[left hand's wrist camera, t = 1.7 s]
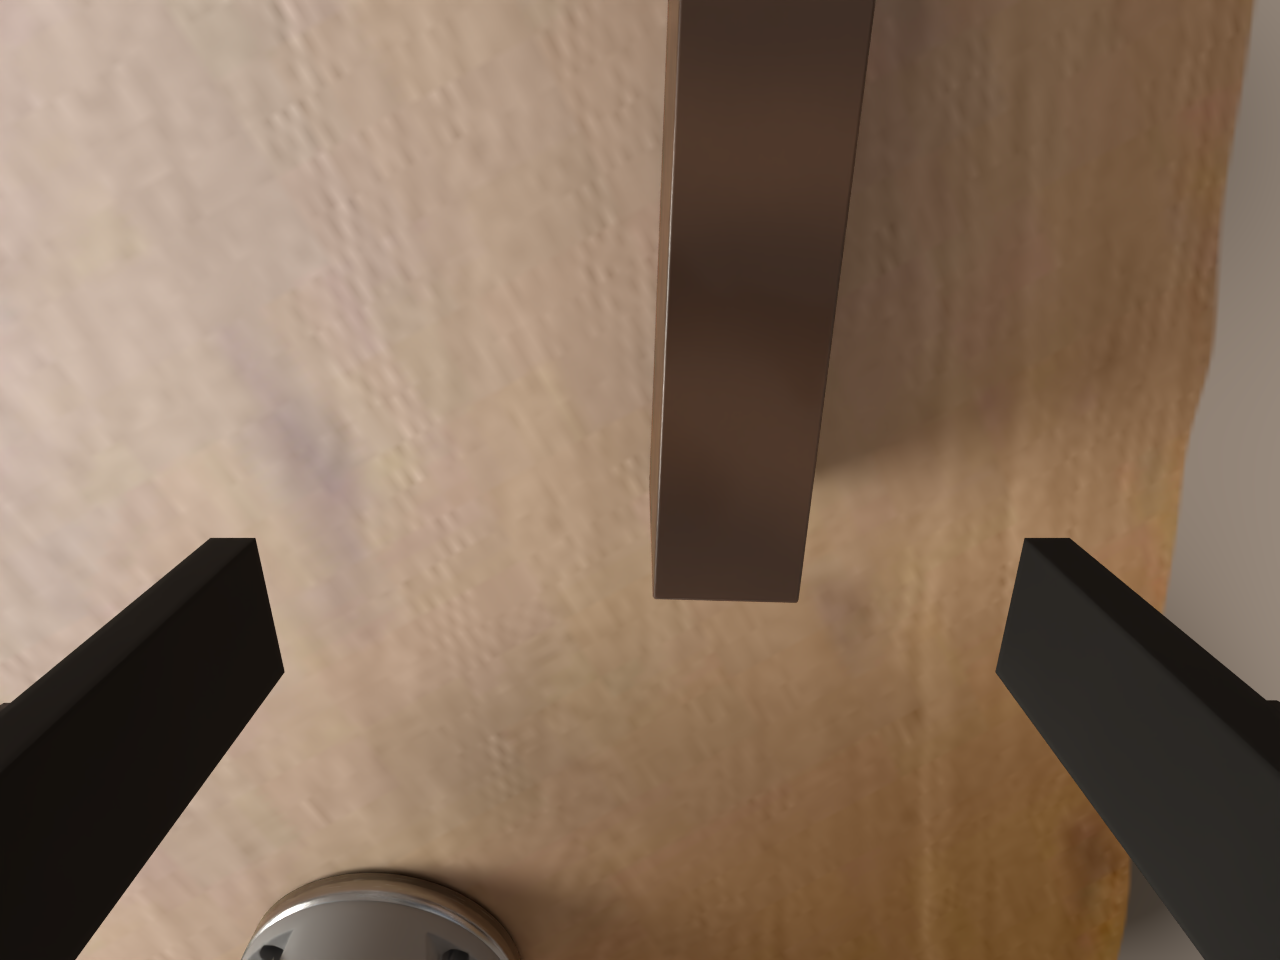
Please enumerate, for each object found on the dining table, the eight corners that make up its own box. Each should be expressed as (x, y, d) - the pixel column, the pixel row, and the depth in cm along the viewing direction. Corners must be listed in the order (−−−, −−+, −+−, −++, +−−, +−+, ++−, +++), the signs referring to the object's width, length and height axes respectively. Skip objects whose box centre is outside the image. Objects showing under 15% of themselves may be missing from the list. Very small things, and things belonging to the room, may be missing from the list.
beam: (755, 491, 31) (798, 603, 23) (649, 488, 31) (653, 600, 23) (845, -432, 21) (986, -853, 12) (685, -439, 21) (716, -866, 12)
